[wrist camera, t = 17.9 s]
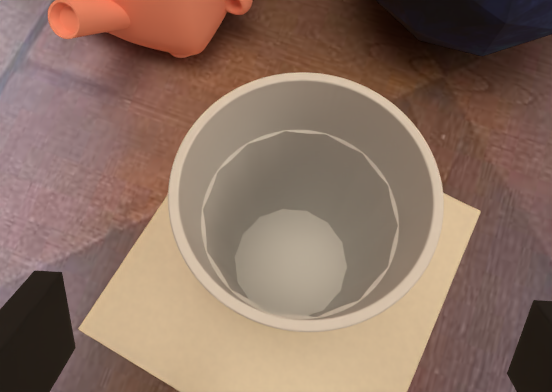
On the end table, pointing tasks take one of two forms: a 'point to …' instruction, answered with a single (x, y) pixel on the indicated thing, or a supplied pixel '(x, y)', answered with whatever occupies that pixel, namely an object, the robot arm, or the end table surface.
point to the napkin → (259, 338)
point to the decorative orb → (473, 22)
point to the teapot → (146, 21)
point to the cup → (305, 202)
